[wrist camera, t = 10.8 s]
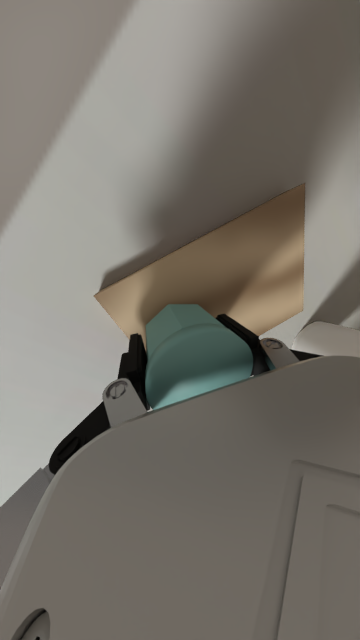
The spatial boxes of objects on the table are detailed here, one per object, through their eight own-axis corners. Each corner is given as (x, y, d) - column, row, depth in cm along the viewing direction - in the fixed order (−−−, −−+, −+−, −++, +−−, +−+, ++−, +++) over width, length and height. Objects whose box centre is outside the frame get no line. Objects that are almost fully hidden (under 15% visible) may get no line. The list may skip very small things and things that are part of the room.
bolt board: (290, 306, 18) (348, 325, 13) (166, 377, 17) (177, 425, 12) (286, 191, 12) (388, 145, 7) (98, 291, 11) (67, 317, 6)
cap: (142, 301, 10) (144, 336, 6) (218, 301, 12) (267, 329, 7) (144, 368, 12) (146, 430, 8) (207, 360, 14) (238, 408, 10)
